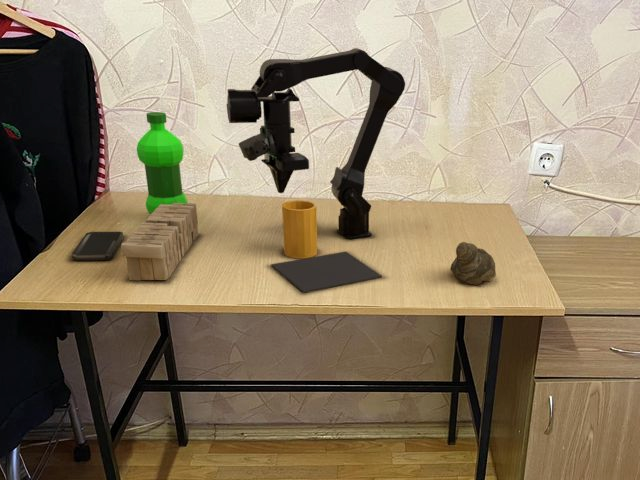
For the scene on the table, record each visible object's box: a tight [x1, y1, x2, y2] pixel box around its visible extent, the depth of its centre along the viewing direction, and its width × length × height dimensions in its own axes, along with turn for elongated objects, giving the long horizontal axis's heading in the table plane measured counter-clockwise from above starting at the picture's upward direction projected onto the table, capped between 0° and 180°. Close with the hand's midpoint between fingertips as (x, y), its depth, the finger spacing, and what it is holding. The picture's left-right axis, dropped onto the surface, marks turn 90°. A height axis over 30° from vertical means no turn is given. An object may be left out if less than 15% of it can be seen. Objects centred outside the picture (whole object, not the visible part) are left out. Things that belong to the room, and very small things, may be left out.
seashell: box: [450, 241, 497, 286], centre depth 152 cm, size 11×12×10 cm
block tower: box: [120, 202, 199, 281], centre depth 153 cm, size 8×8×29 cm
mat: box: [271, 251, 383, 294], centre depth 152 cm, size 18×16×1 cm
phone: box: [71, 231, 125, 262], centre depth 156 cm, size 8×1×15 cm
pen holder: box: [281, 199, 318, 259], centre depth 159 cm, size 7×7×11 cm
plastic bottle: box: [136, 111, 189, 215], centre depth 171 cm, size 10×10×25 cm
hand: (280, 192), depth 163 cm, fingers closed
